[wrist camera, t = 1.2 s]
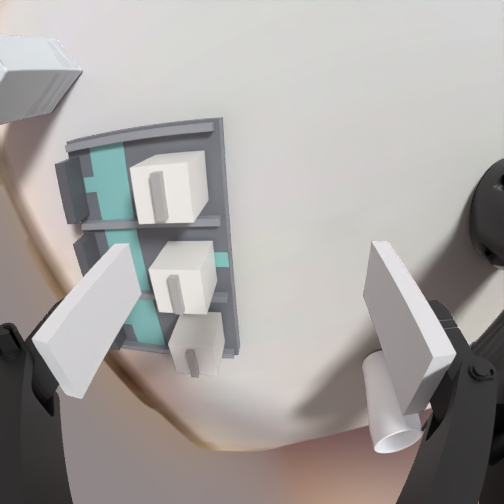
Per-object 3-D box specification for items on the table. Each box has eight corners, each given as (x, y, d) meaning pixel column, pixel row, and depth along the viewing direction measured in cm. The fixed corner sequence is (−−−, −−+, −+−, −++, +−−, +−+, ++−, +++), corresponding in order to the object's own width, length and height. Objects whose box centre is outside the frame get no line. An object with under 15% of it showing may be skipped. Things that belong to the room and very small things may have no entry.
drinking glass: (348, 370, 43) (362, 453, 30) (372, 341, 40) (396, 427, 27) (381, 377, 44) (400, 453, 31) (405, 349, 41) (433, 429, 28)
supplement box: (57, 37, 24) (-16, 31, 12) (84, 71, 26) (7, 71, 15) (26, 81, 26) (-46, 91, 15) (50, 115, 28) (-25, 134, 17)
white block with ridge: (212, 240, 32) (198, 274, 26) (217, 281, 34) (205, 319, 28) (168, 241, 32) (145, 273, 26) (175, 280, 35) (156, 316, 29)
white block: (204, 150, 28) (184, 164, 22) (208, 199, 30) (191, 226, 24) (155, 154, 28) (125, 170, 22) (162, 201, 30) (135, 227, 24)
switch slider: (221, 312, 36) (211, 352, 30) (224, 341, 39) (216, 381, 33) (181, 310, 37) (166, 348, 31) (188, 339, 39) (175, 377, 33)
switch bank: (222, 117, 28) (212, 119, 24) (239, 345, 42) (235, 371, 38) (76, 138, 30) (50, 146, 25) (126, 336, 44) (114, 358, 39)
